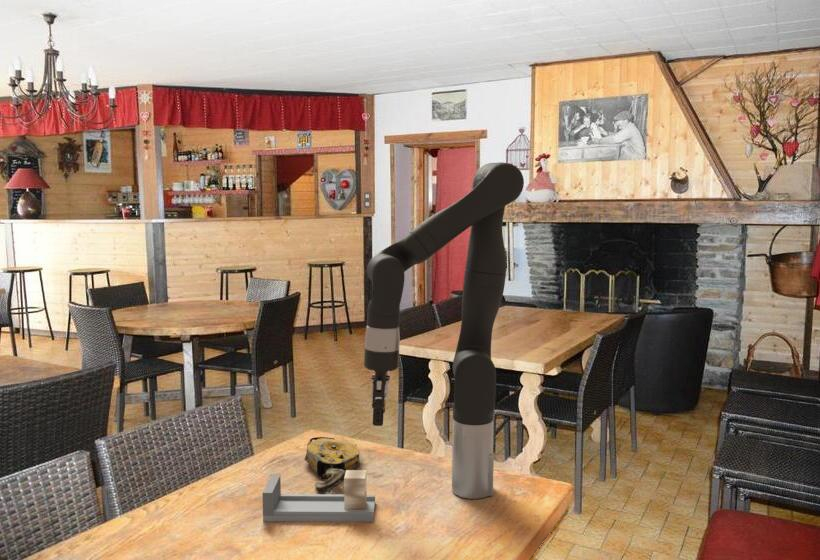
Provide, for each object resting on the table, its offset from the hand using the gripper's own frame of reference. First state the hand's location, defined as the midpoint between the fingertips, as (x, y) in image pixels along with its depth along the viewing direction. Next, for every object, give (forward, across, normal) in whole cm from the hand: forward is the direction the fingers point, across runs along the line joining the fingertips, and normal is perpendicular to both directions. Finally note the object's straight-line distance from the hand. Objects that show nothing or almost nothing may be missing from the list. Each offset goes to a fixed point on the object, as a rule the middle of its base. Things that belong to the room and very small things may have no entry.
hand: (378, 418), depth 149 cm
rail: (+20, -5, +11) cm, 23 cm away
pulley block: (+20, +17, +12) cm, 29 cm away
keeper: (+18, -5, +4) cm, 19 cm away
